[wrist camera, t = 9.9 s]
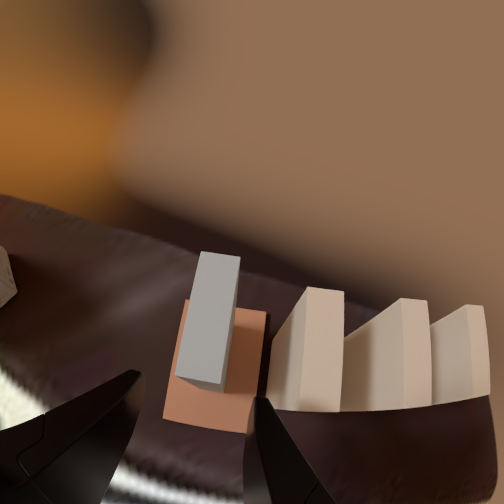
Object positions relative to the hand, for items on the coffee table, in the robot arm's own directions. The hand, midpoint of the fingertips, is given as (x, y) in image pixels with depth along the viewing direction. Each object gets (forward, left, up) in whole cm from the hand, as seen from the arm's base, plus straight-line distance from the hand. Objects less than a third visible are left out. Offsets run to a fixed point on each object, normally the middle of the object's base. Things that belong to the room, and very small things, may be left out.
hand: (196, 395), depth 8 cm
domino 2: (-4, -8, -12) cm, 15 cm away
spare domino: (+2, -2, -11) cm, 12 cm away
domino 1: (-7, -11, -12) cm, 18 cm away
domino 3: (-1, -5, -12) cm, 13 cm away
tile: (+2, -1, -12) cm, 12 cm away
